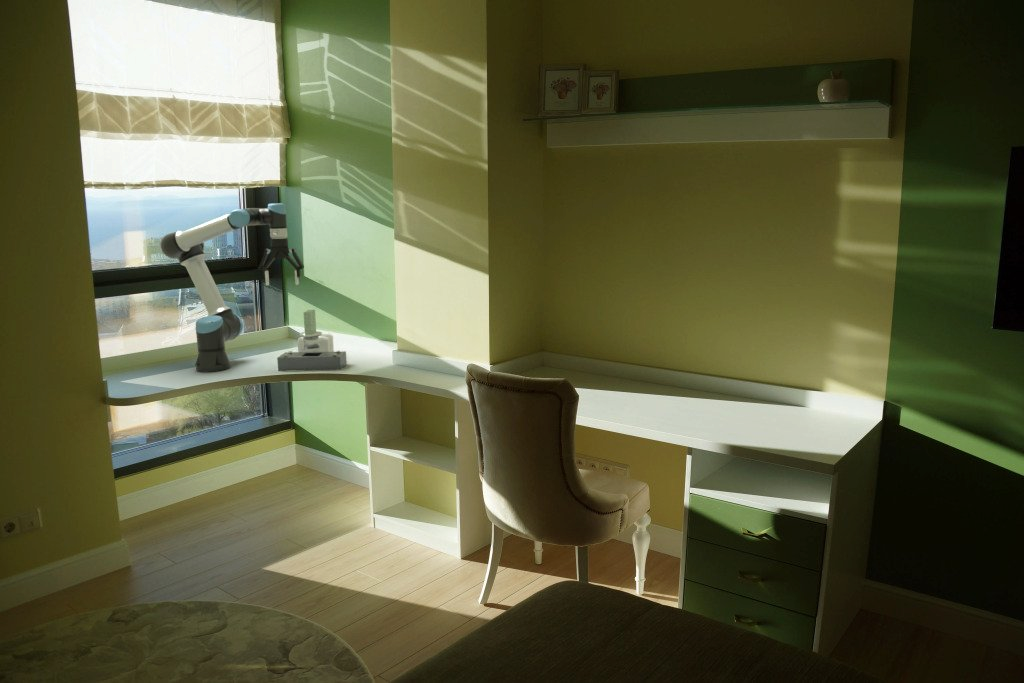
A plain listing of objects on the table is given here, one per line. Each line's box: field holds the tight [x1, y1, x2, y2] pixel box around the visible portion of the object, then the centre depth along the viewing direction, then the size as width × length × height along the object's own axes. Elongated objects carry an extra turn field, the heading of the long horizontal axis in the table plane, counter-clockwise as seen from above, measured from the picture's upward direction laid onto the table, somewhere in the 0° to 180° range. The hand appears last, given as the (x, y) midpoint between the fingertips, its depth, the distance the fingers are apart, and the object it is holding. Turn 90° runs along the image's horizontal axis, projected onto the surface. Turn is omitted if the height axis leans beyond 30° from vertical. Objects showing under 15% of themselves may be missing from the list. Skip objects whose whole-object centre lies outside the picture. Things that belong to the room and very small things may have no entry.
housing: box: [277, 350, 348, 372], centre depth 375 cm, size 28×12×7 cm, turn 88°
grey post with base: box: [299, 309, 323, 349], centre depth 373 cm, size 10×10×16 cm
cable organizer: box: [297, 332, 335, 352], centre depth 393 cm, size 15×11×12 cm
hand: (282, 285), depth 378 cm, fingers open, 13 cm apart
